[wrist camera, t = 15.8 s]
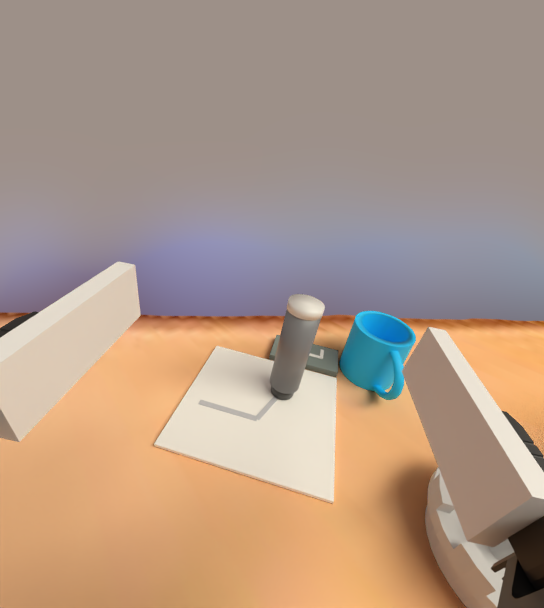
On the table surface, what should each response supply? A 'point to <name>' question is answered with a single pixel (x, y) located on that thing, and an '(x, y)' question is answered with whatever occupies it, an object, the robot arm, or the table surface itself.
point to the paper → (258, 424)
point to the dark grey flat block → (316, 359)
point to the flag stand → (462, 551)
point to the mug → (377, 353)
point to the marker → (295, 344)
